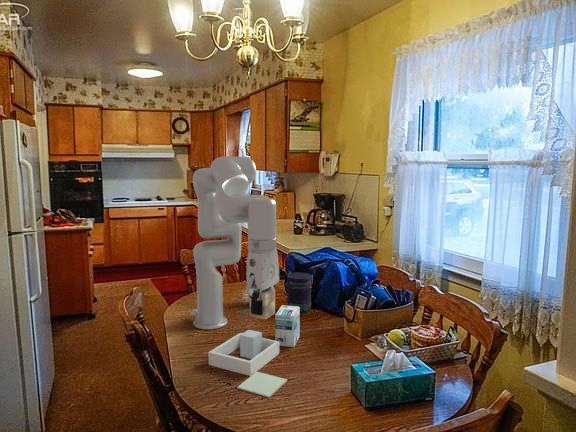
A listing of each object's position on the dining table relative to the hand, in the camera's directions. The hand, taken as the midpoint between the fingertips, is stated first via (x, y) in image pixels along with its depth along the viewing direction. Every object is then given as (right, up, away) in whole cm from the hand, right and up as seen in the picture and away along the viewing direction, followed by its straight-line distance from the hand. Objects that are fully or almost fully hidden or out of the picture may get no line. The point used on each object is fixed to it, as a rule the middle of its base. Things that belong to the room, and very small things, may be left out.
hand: (262, 310), depth 119 cm
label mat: (0, -21, +3) cm, 21 cm away
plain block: (-5, -19, +21) cm, 29 cm away
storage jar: (+11, -14, +63) cm, 65 cm away
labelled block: (0, -1, 0) cm, 1 cm away
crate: (-6, -19, +18) cm, 27 cm away
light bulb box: (+7, -18, +33) cm, 38 cm away
